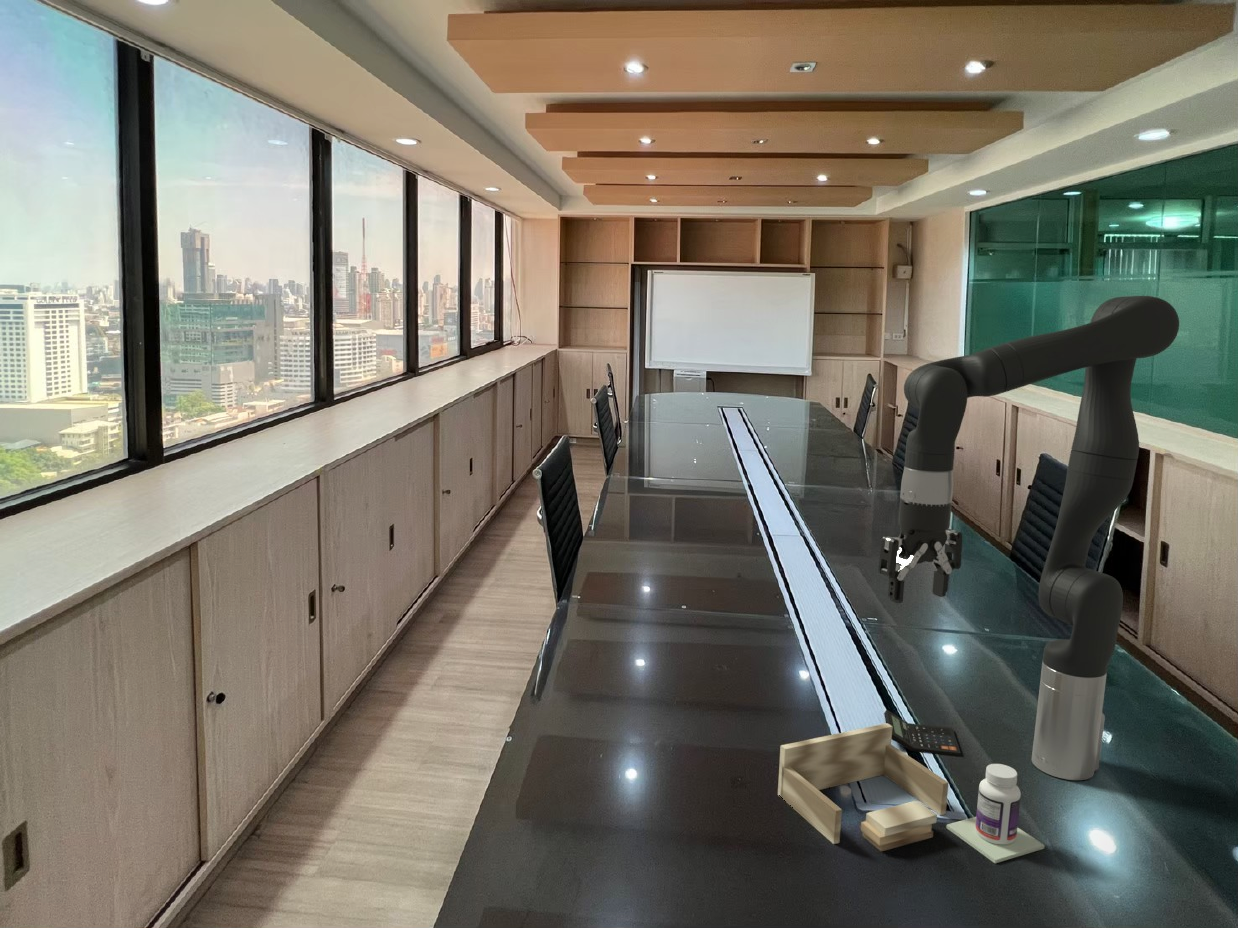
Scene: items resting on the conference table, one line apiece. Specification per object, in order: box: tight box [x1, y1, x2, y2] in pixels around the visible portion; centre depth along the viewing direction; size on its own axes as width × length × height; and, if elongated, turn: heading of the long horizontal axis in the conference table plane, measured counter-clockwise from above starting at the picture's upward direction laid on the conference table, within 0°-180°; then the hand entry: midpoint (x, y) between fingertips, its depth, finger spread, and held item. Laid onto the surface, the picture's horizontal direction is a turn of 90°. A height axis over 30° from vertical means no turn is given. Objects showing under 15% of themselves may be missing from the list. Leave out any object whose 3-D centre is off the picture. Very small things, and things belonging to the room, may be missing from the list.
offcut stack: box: [860, 799, 938, 852], centre depth 129 cm, size 10×4×4 cm, turn 114°
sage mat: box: [945, 816, 1045, 864], centre depth 129 cm, size 9×9×1 cm
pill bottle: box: [975, 763, 1022, 845], centre depth 128 cm, size 5×5×10 cm
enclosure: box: [777, 722, 950, 845], centre depth 136 cm, size 20×14×8 cm
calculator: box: [883, 709, 962, 757], centre depth 158 cm, size 9×12×3 cm
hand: (917, 598), depth 144 cm, fingers open, 8 cm apart
